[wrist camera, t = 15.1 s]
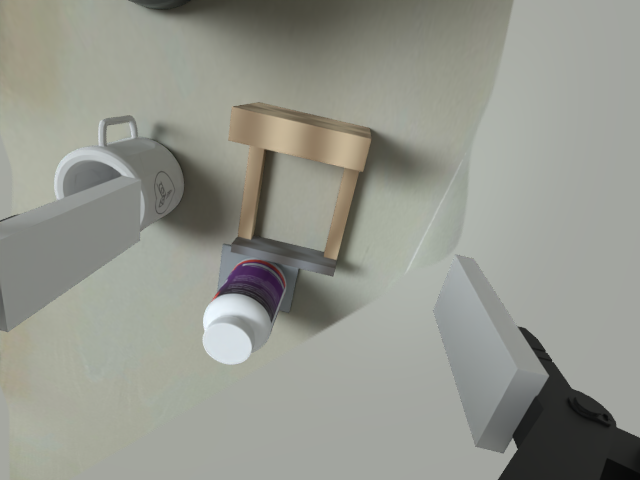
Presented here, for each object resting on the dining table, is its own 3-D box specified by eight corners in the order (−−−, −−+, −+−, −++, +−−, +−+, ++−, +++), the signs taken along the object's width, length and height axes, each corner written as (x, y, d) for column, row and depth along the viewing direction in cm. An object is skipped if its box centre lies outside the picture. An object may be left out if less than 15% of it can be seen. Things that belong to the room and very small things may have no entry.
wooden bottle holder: (239, 240, 52) (213, 273, 43) (258, 102, 45) (231, 106, 36) (335, 262, 52) (329, 301, 43) (369, 128, 45) (371, 139, 35)
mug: (186, 221, 52) (148, 250, 43) (111, 209, 52) (58, 235, 43) (184, 119, 47) (141, 127, 37) (101, 107, 47) (38, 113, 38)
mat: (217, 294, 56) (216, 295, 55) (223, 243, 53) (222, 244, 52) (289, 311, 56) (289, 312, 55) (300, 261, 52) (299, 263, 52)
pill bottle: (231, 251, 52) (187, 308, 39) (288, 257, 52) (262, 316, 39) (234, 301, 56) (193, 369, 42) (287, 307, 55) (263, 377, 42)
